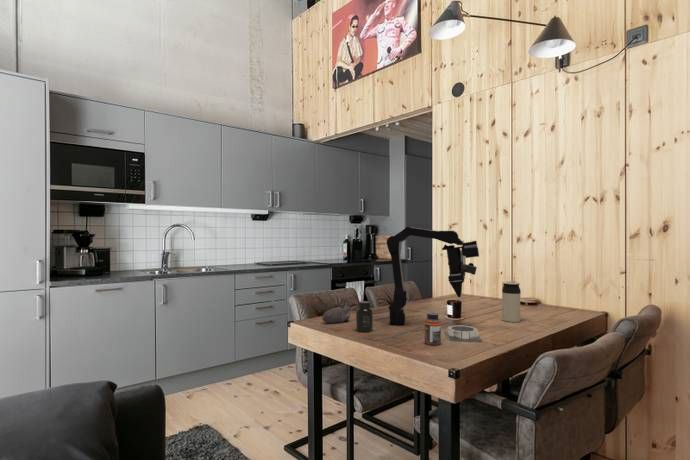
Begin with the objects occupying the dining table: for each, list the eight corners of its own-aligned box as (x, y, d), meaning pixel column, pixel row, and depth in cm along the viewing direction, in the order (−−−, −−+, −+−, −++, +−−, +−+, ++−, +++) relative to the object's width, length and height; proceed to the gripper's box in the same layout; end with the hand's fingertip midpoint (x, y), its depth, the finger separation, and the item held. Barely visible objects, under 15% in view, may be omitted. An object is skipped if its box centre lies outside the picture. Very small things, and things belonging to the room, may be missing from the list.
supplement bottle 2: (422, 341, 156) (422, 311, 156) (437, 341, 157) (438, 311, 157) (427, 345, 150) (427, 314, 150) (442, 345, 151) (443, 314, 151)
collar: (449, 341, 157) (449, 332, 157) (444, 333, 169) (444, 324, 169) (481, 341, 156) (482, 332, 156) (474, 333, 168) (474, 325, 168)
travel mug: (501, 321, 191) (502, 282, 191) (502, 318, 198) (502, 280, 198) (520, 323, 188) (520, 283, 188) (520, 319, 195) (520, 281, 195)
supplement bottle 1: (374, 329, 175) (374, 301, 175) (370, 333, 168) (370, 303, 168) (358, 328, 177) (359, 300, 177) (354, 331, 170) (354, 302, 170)
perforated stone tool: (324, 325, 181) (325, 309, 181) (319, 323, 186) (319, 307, 186) (353, 321, 189) (354, 306, 189) (348, 319, 194) (348, 304, 194)
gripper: (473, 258, 166) (479, 297, 166) (474, 255, 184) (479, 290, 183) (445, 261, 170) (451, 299, 169) (448, 258, 187) (453, 292, 187)
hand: (459, 295), depth 177 cm, fingers open, 9 cm apart
